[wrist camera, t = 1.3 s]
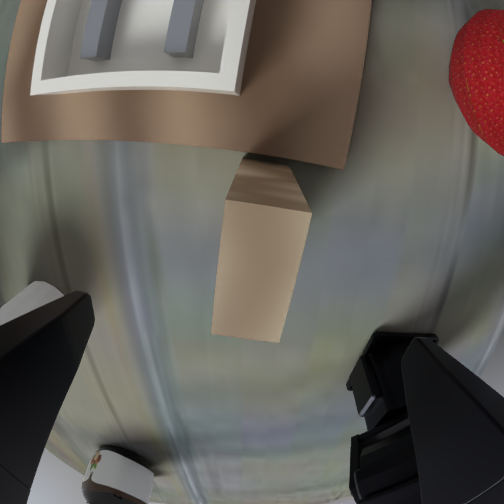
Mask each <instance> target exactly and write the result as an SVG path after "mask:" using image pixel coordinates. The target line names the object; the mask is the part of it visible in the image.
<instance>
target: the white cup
mask: <svg viewBox="0 0 504 504" xmlns="http://www.w3.org/2000/svg"><path fill="white" fill-rule="evenodd" d="M63 296H64V295H63V294H62V293H61V292H60V291H59V290H58V289H57V288H56V287H54V286H53V285H50V284H48V283H46V282H44V281H34V282H33V283H31V284H30V285H28V286H27V287H26V288H25V289H23V290H22V291H21V292H19V293H18V294H17V295H16V296H14V297H13V298H12V299H11V300H9V301H8V302H7V303H6V304H5V305H3V306H2V307H1V308H0V325H2V324H4V323H7V322H9V321H11V320H13V319H15V318H17V317H19V316H21V315H23V314H26V313H28V312H30V311H32V310H34V309H36V308H38V307H41V306H43V305H45V304H47V303H49V302H52V301H54V300H56V299H58V298H60V297H63Z"/></svg>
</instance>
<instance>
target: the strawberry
mask: <svg viewBox="0 0 504 504" xmlns="http://www.w3.org/2000/svg"><path fill="white" fill-rule="evenodd" d="M449 84H450V87H451V89H452V92H453V95H454V98H455V100H456V102H457V104H458V106H459V108H460V110H461V112H462V114H463V116H464V118H465V120H466V121H467V123H468V125H469V126H470V128H471V129H472V130H473V132H474V133H475V134H476V135H477V136H479V137H480V138H481V139H482V140H483V141H485V142H486V143H487V144H488V145H489V146H491V147H492V148H493V149H494V150H495V151H496V152H498V153H499V154H501V155H503V156H504V10H493V9H485V10H481V11H479V12H478V13H476V14H475V15H474V16H473V17H472V18H471V19H470V20H469V21H468V22H467V23H466V24H465V25H464V26H463V27H462V28H461V29H460V30H459V32H458V34H457V35H456V38H455V41H454V44H453V49H452V54H451V59H450V64H449Z"/></svg>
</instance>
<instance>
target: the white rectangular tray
mask: <svg viewBox="0 0 504 504" xmlns="http://www.w3.org/2000/svg"><path fill="white" fill-rule="evenodd" d="M255 4H256V0H47V4H46V7H45V11H44V15H43V19H42V23H41V28H40V32H39V37H38V42H37V47H36V53H35V59H34V66H33V73H32V81H31V91H30V95H48V94H67V93H78V92H91V91H110V90H173V91H192V92H206V93H217V94H227V95H236V96H240V91H241V85H242V79H243V73H244V67H245V60H246V55H247V49H248V43H249V37H250V31H251V26H252V20H253V15H254V10H255Z"/></svg>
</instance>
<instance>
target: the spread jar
mask: <svg viewBox="0 0 504 504" xmlns="http://www.w3.org/2000/svg"><path fill="white" fill-rule="evenodd" d="M153 481H154V473H153V470H152V469H151V467H150V466H149V465H148V464H147V463H146V461H145V460H144V459H142V458H141V457H139V456H138V455H136V454H134V453H132V452H130V451H127V450H125V449H122V448H119V447H114V446H104V447H102V448H100V449H99V450H97V451H96V452H95V453H94V455H93V456H92V458H91V460H90V462H89V464H88V467H87V470H86V473H85V476H84V479H83V482H82V493H83V496H84V498H85V500H86V501H87V502H86V503H85V504H148V503H149V500H150V495H151V493H152V487H153Z"/></svg>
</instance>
